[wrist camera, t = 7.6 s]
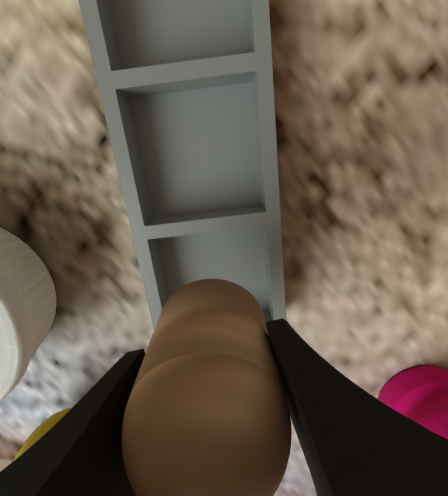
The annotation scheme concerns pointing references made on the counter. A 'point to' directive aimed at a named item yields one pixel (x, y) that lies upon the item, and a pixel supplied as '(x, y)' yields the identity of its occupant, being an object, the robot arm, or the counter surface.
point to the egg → (207, 400)
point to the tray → (193, 140)
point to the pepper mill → (420, 397)
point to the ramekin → (22, 308)
